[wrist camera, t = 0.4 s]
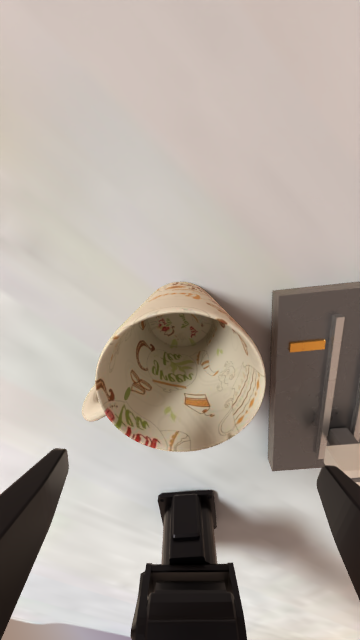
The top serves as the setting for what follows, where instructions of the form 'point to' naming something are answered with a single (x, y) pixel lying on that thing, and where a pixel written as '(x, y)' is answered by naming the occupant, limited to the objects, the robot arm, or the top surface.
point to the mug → (178, 373)
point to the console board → (313, 372)
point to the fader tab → (344, 453)
